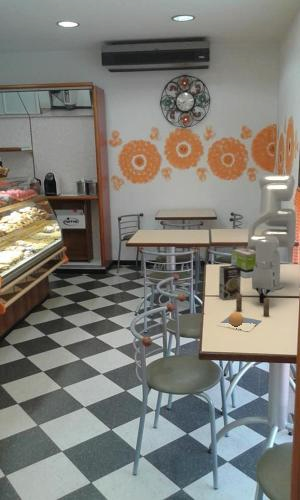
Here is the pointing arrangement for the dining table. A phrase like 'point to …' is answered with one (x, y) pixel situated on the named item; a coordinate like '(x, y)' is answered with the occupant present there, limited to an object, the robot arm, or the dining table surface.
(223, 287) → the coffee box
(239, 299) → the post
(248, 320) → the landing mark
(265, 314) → the post
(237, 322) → the ball
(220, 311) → the dining table surface
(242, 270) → the tea box
